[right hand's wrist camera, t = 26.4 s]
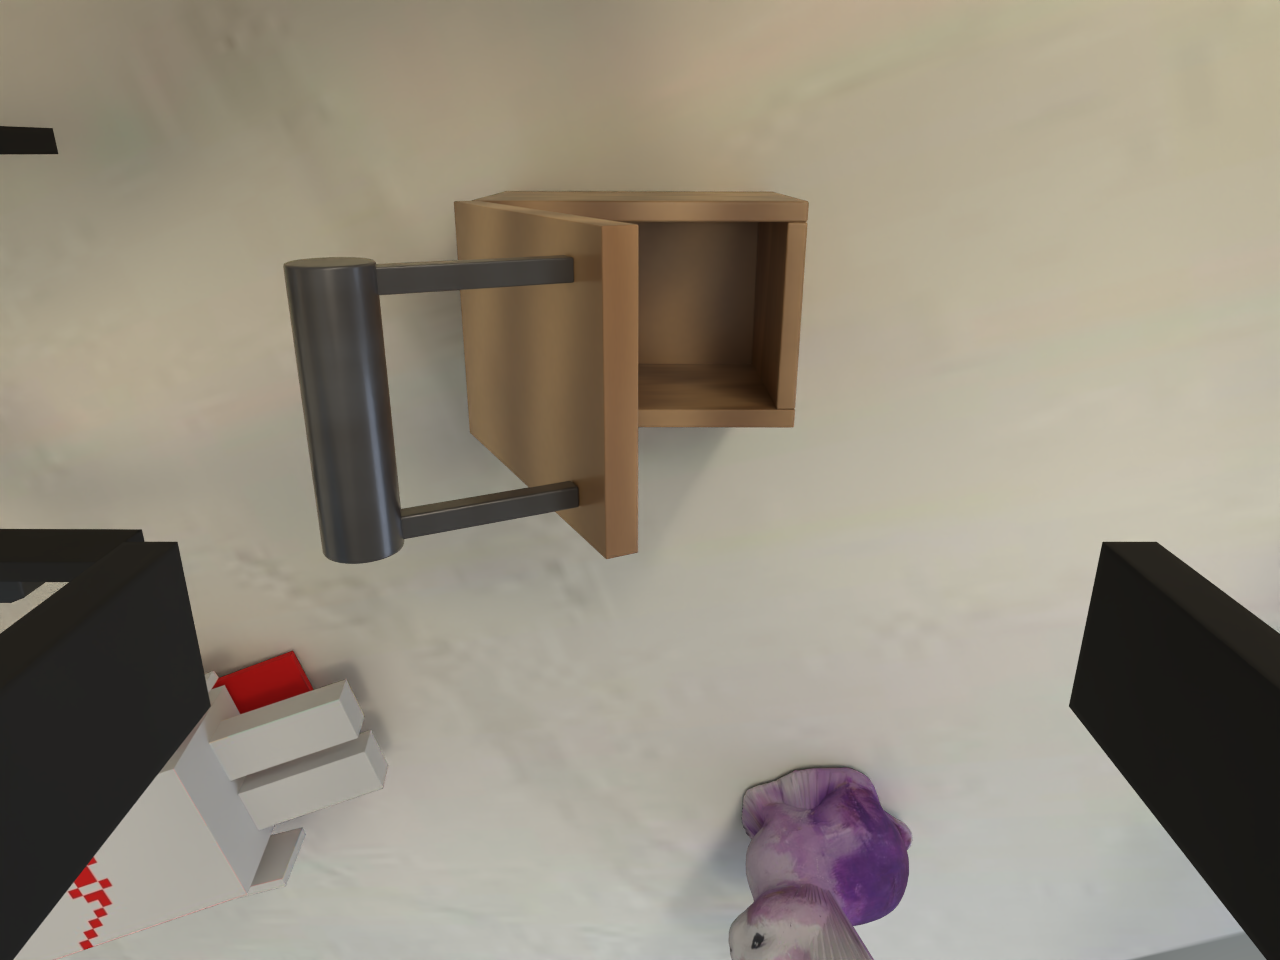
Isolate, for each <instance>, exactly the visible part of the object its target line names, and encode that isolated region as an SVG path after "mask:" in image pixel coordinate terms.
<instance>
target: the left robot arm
mask: <svg viewBox="0 0 1280 960" xmlns="http://www.w3.org/2000/svg"><path fill="white" fill-rule="evenodd" d="M0 154H58V150H57V146H56V141H55V137H54V132H53V128H34V127H8V126H0ZM123 542H144V537H143V533H142V530H123V529H0V603H12V602H14V601H17V600H19V599H22V598H24V597H25V596H27V595H28V594H30V593H31V592H32V591H34V590H35V589H37V588H38V587H39V586H41V585H42V584H44V583H45V582H70V581H72V580H73V579H74V578H76V577H77V576H78V575H80V574H81V573H82V572H84V571H85V570H86V569H88V568H89V567H90V566H92V565H93V564H94V563H96V562H97V561H98V560H100V559H101V558H102V557H104V556H105V555H107V554H108V553H109V552H111V551H112V550H113V549H115V548H116V547H117V546H119V545H120V544H121V543H123Z"/></svg>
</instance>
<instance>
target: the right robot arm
mask: <svg viewBox="0 0 1280 960" xmlns="http://www.w3.org/2000/svg"><path fill="white" fill-rule="evenodd" d="M210 707H211V704H210V699H209V694H208V689H207V684H206V679H205V674H204V670H203V665H202V660H201V655H200V650H199V645H198V640H197V635H196V630H195V626H194V621H193V616H192V611H191V606H190V601H189V596H188V591H187V586H186V582H185V577H184V572H183V567H182V562H181V557H180V552H179V547H178V542H123V543H121V544H120V545H119V546H117V547H116V548H115V549H113V550H112V551H111V552H109V553H108V554H107V555H105V556H104V557H102V558H101V559H100V560H98V561H97V562H96V563H94V564H93V565H92V566H90V567H89V568H88V569H86V570H85V571H84V572H82V573H81V574H80V575H78V576H77V577H76V578H74V579H73V580H72V581H70V582H69V583H68V584H66V585H65V586H64V587H62V588H61V589H60V590H58V591H57V592H56V593H54V594H53V595H52V596H50V597H49V598H48V599H46V600H45V601H44V602H42V603H41V604H40V605H38V606H37V607H36V608H34V609H33V610H32V611H30V612H29V613H27V614H26V615H25V616H23V617H22V618H21V619H19V620H18V621H17V622H15V623H14V624H13V625H11V626H10V627H9V628H7V629H6V630H5V631H3V632H2V633H1V634H0V960H13V959H14V958H15V957H16V956H17V954H18V953H19V952H20V951H21V949H22V948H23V947H24V945H25V944H26V943H27V942H28V940H29V939H30V938H31V936H32V935H33V934H34V933H35V931H36V930H37V929H38V927H39V926H40V925H41V924H42V922H43V921H44V920H45V918H46V917H47V916H48V915H49V913H50V912H51V911H52V909H53V908H54V907H55V906H56V904H57V903H58V902H59V901H60V899H61V898H62V897H63V895H64V894H65V893H66V892H67V890H68V889H69V888H70V886H71V885H72V884H73V883H74V881H75V880H76V879H77V877H78V876H79V875H80V874H81V872H82V871H83V870H84V868H85V867H86V866H87V865H88V863H89V862H90V861H91V859H92V858H93V857H94V856H95V854H96V853H97V852H98V850H99V849H100V848H101V847H102V845H103V844H104V843H105V842H106V840H107V839H108V838H109V836H110V835H111V834H112V833H113V831H114V830H115V829H116V827H117V826H118V825H119V824H120V822H121V821H122V820H123V818H124V817H125V816H126V815H127V813H128V812H129V811H130V809H131V808H132V807H133V806H134V804H135V803H136V802H137V800H138V799H139V798H140V797H141V795H142V794H143V793H144V792H145V790H146V789H147V788H148V786H149V785H150V784H151V783H152V781H153V780H154V779H155V777H156V776H157V775H158V774H159V772H160V771H161V770H162V768H163V767H164V766H165V765H166V763H167V762H168V761H169V759H170V758H171V757H172V756H173V754H174V753H175V752H176V750H177V749H178V748H179V747H180V745H181V744H182V743H183V742H184V740H185V739H186V738H187V736H188V735H189V734H190V733H191V731H192V730H193V729H194V727H195V726H196V725H197V724H198V722H199V721H200V720H201V718H202V717H203V716H204V715H205V713H206V712H207V711H208V709H209V708H210ZM1069 707H1070V708H1071V709H1072V711H1073V712H1074V713H1075V715H1076V716H1077V717H1078V718H1079V720H1080V721H1081V722H1082V724H1083V725H1084V726H1085V727H1086V729H1087V730H1088V731H1089V733H1090V734H1091V735H1092V736H1093V738H1094V739H1095V740H1096V742H1097V743H1098V744H1099V745H1100V747H1101V748H1102V749H1103V750H1104V752H1105V753H1106V754H1107V756H1108V757H1109V758H1110V759H1111V761H1112V762H1113V763H1114V765H1115V766H1116V767H1117V768H1118V770H1119V771H1120V772H1121V774H1122V775H1123V776H1124V777H1125V779H1126V780H1127V781H1128V783H1129V784H1130V785H1131V786H1132V788H1133V789H1134V790H1135V792H1136V793H1137V794H1138V795H1139V797H1140V798H1141V799H1142V800H1143V802H1144V803H1145V804H1146V806H1147V807H1148V808H1149V809H1150V811H1151V812H1152V813H1153V815H1154V816H1155V817H1156V818H1157V820H1158V821H1159V822H1160V824H1161V825H1162V826H1163V827H1164V829H1165V830H1166V831H1167V833H1168V834H1169V835H1170V836H1171V838H1172V839H1173V840H1174V842H1175V843H1176V844H1177V845H1178V847H1179V848H1180V849H1181V850H1182V852H1183V853H1184V854H1185V856H1186V857H1187V858H1188V859H1189V861H1190V862H1191V863H1192V865H1193V866H1194V867H1195V868H1196V870H1197V871H1198V872H1199V874H1200V875H1201V876H1202V877H1203V879H1204V880H1205V881H1206V883H1207V884H1208V885H1209V886H1210V888H1211V889H1212V890H1213V892H1214V893H1215V894H1216V895H1217V897H1218V898H1219V899H1220V901H1221V902H1222V903H1223V904H1224V906H1225V907H1226V908H1227V909H1228V911H1229V912H1230V913H1231V915H1232V916H1233V917H1234V918H1235V920H1236V921H1237V922H1238V924H1239V925H1240V926H1241V927H1242V929H1243V930H1244V931H1245V933H1246V934H1247V935H1248V936H1249V938H1250V939H1251V940H1252V942H1253V943H1254V944H1255V945H1256V947H1257V948H1258V949H1259V951H1260V952H1261V953H1262V954H1263V956H1264V957H1265V958H1266V959H1267V960H1280V634H1279V633H1278V632H1277V631H1275V630H1274V629H1273V628H1271V627H1270V626H1269V625H1267V624H1266V623H1265V622H1263V621H1262V620H1261V619H1259V618H1258V617H1257V616H1255V615H1254V614H1253V613H1251V612H1250V611H1248V610H1247V609H1246V608H1244V607H1243V606H1242V605H1240V604H1239V603H1238V602H1236V601H1235V600H1234V599H1232V598H1231V597H1230V596H1228V595H1227V594H1226V593H1224V592H1223V591H1222V590H1220V589H1219V588H1218V587H1216V586H1215V585H1214V584H1212V583H1211V582H1210V581H1208V580H1207V579H1206V578H1204V577H1203V576H1202V575H1200V574H1199V573H1198V572H1196V571H1195V570H1194V569H1192V568H1191V567H1190V566H1188V565H1187V564H1186V563H1184V562H1183V561H1182V560H1180V559H1179V558H1178V557H1176V556H1175V555H1173V554H1172V553H1171V552H1169V551H1168V550H1167V549H1165V548H1164V547H1163V546H1161V545H1160V544H1159V543H1157V542H1102V547H1101V552H1100V557H1099V562H1098V567H1097V572H1096V577H1095V582H1094V586H1093V591H1092V596H1091V601H1090V606H1089V611H1088V616H1087V621H1086V626H1085V630H1084V635H1083V640H1082V645H1081V650H1080V655H1079V660H1078V665H1077V670H1076V674H1075V679H1074V684H1073V689H1072V694H1071V699H1070V704H1069Z"/></svg>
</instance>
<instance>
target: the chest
mask: <svg viewBox="0 0 1280 960" xmlns="http://www.w3.org/2000/svg"><path fill="white" fill-rule="evenodd" d="M472 201H483V202H490V203H497V204H503V205H510V206H517V207H524V208H530V209H537V210H544V211H550V212H557V213H564V214H571V215H577V216H584V217H591V218H597V219H604V220H611V221H617V222H624V223H631V224H637V225H638V427H794V418H795V409H794V408H795V400H796V386H797V371H798V356H799V341H800V326H801V311H802V296H803V281H804V266H805V251H806V236H807V223H806V221H807V220H808V206H809V203H808V202H807V201H804V200H801V199H797V198H793V197H789V196H786V195H782V194H778V193H775V192H628V191H505V192H502V193H498V194H494V195H491V196H487V197H483V198H479V199H476V200H472Z"/></svg>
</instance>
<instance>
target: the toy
mask: <svg viewBox="0 0 1280 960" xmlns="http://www.w3.org/2000/svg"><path fill="white" fill-rule="evenodd" d="M205 679H206V684H207V689H208V694H209V699H210V704H211V707H210V708H209V709H208V711H207V712H206V713H205V715H204V716H203V717H202V718H201V720H200V721H199V722H198V724H197V725H196V726H195V727H194V729H193V730H192V731H191V733H190V734H189V735H188V736H187V738H186V739H185V740H184V742H183V743H182V744H181V745H180V747H179V748H178V749H177V750H176V752H175V753H174V754H173V756H172V757H171V758H170V759H169V761H168V762H167V763H166V765H165V766H164V767H163V768H162V770H161V771H160V772H159V774H158V775H157V776H156V777H155V779H154V780H153V781H152V783H151V784H150V785H149V786H148V788H147V789H146V790H145V792H144V793H143V794H142V795H141V797H140V798H139V799H138V800H137V802H136V803H135V804H134V806H133V807H132V808H131V809H130V811H129V812H128V813H127V815H126V816H125V817H124V818H123V820H122V821H121V822H120V824H119V825H118V826H117V827H116V829H115V830H114V831H113V833H112V834H111V835H110V836H109V838H108V839H107V840H106V842H105V843H104V844H103V845H102V847H101V848H100V849H99V850H98V852H97V853H96V854H95V856H94V857H93V858H92V859H91V861H90V862H89V863H88V865H87V866H86V867H85V868H84V870H83V871H82V872H81V874H80V875H79V876H78V877H77V879H76V880H75V881H74V883H73V884H72V885H71V886H70V888H69V889H68V890H67V892H66V893H65V894H64V895H63V897H62V898H61V899H60V901H59V902H58V903H57V904H56V906H55V907H54V908H53V909H52V911H51V912H50V913H49V915H48V916H47V917H46V918H45V920H44V921H43V922H42V924H41V925H40V926H39V927H38V929H37V930H36V931H35V933H34V934H33V935H32V936H31V938H30V939H29V940H28V942H27V943H26V944H25V945H24V947H23V948H22V949H21V951H20V952H19V953H18V954H17V956H16V957H15V958H14V959H13V960H56V959H59V958H62V957H65V956H68V955H71V954H74V953H76V952H79V951H82V950H85V949H88V948H91V947H94V946H97V945H100V944H103V943H106V942H109V941H112V940H115V939H118V938H120V937H123V936H126V935H129V934H132V933H135V932H138V931H141V930H144V929H147V928H150V927H153V926H156V925H159V924H162V923H164V922H167V921H170V920H173V919H176V918H179V917H182V916H185V915H188V914H191V913H194V912H197V911H200V910H203V909H206V908H208V907H211V906H214V905H217V904H220V903H223V902H226V901H229V900H233V899H237V898H241V897H245V896H249V895H253V894H257V893H261V892H265V891H269V890H273V889H277V888H281V887H285V886H286V884H287V881H288V879H289V876H290V873H291V871H292V868H293V866H294V863H295V861H296V858H297V855H298V853H299V850H300V848H301V845H302V843H303V840H304V837H305V835H306V834H305V832H304V829H303V827H302V828H298V829H294V830H290V831H286V832H282V833H278V834H274V835H271V833H272V830H273V828H274V825H276V824H279V823H282V822H285V821H288V820H291V819H294V818H297V817H300V816H303V815H306V814H309V813H312V812H314V811H317V810H320V809H323V808H326V807H329V806H332V805H335V804H338V803H341V802H344V801H347V800H350V799H353V798H356V797H359V796H362V795H365V794H368V793H371V792H374V791H376V790H379V789H382V788H383V786H384V782H385V777H386V773H387V769H388V764H387V762H386V760H385V758H384V756H383V754H382V752H381V750H380V747H379V745H378V743H377V741H376V739H375V737H374V735H373V733H372V731H371V730H369V731H366V732H363V733H360V730H361V727H362V723H363V720H364V717H365V716H364V714H363V712H362V710H361V708H360V706H359V704H358V702H357V700H356V698H355V696H354V694H353V692H352V689H351V687H350V685H349V683H348V681H347V679H345V680H342V681H339V682H336V683H333V684H330V685H327V686H324V687H321V688H318V689H315V690H314V689H313V688H312V686H311V684H310V682H309V680H308V678H307V676H306V674H305V673H304V671H303V669H302V667H301V665H300V663H299V661H298V659H297V657H296V656H295V654H294V652H293V651H291V652H288V653H285V654H283V655H280V656H277V657H274V658H272V659H269V660H266V661H264V662H261V663H258V664H255V665H253V666H250V667H247V668H245V669H242V670H239V671H236V672H234V673H231V674H228V675H226V676H223V677H220V678H219V677H218V676H217V675H216V673H215V672H214V670H213V671H211V672H209V673H207V674H205ZM359 733H360V734H359Z"/></svg>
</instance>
